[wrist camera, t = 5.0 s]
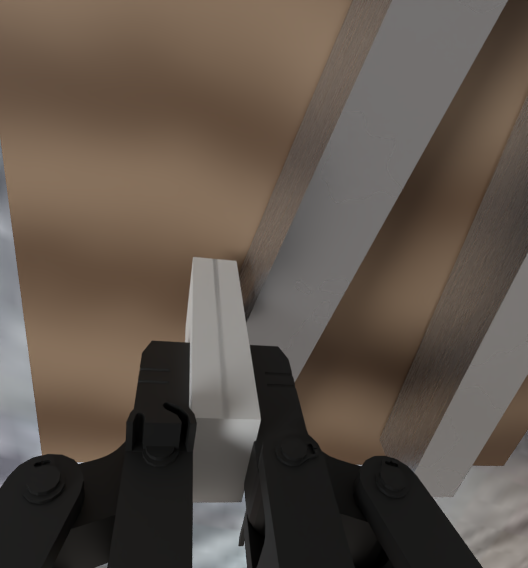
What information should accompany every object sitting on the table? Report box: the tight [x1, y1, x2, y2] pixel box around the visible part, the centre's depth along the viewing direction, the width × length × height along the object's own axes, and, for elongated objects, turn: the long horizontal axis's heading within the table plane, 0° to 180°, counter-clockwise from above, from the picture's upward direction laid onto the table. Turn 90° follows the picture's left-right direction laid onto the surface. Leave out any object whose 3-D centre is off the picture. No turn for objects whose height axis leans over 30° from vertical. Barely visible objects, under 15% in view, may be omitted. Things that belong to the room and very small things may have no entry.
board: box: [0, 0, 528, 466], centre depth 16 cm, size 30×23×1 cm
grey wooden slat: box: [239, 0, 508, 382], centre depth 15 cm, size 20×2×3 cm, turn 159°
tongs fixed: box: [379, 95, 528, 497], centre depth 14 cm, size 25×7×3 cm, turn 171°
